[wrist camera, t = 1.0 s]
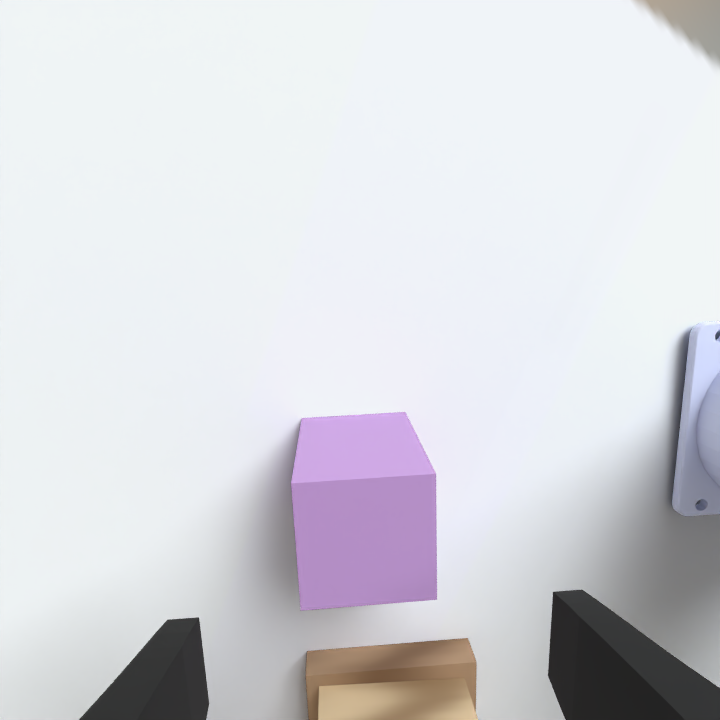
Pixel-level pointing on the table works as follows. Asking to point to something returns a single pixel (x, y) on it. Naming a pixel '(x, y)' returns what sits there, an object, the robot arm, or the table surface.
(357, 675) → the walnut tile
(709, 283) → the table surface
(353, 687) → the oak tile
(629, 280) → the table surface
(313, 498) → the purple block
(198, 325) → the table surface
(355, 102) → the table surface
